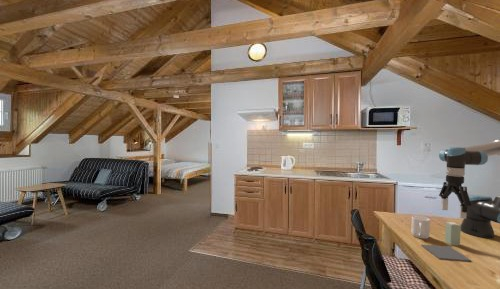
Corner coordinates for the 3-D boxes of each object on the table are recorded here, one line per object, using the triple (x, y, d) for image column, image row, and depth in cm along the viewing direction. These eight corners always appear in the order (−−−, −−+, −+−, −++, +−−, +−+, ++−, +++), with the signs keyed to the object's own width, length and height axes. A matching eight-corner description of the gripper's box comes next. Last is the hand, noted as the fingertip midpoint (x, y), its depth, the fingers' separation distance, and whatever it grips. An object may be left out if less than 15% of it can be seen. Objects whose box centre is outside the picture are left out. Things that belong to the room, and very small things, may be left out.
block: (453, 241, 130) (454, 222, 130) (459, 245, 125) (460, 225, 125) (444, 241, 131) (445, 221, 130) (450, 244, 126) (451, 224, 126)
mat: (449, 247, 123) (450, 246, 123) (471, 261, 109) (471, 260, 109) (421, 245, 125) (421, 244, 125) (438, 259, 111) (438, 257, 111)
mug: (411, 238, 133) (411, 220, 133) (411, 231, 143) (411, 214, 143) (430, 242, 128) (430, 223, 128) (428, 235, 138) (429, 217, 138)
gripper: (432, 171, 140) (431, 206, 140) (465, 179, 115) (463, 221, 116) (446, 172, 139) (445, 207, 139) (482, 179, 114) (480, 222, 115)
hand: (453, 213), depth 128 cm, fingers open, 13 cm apart
